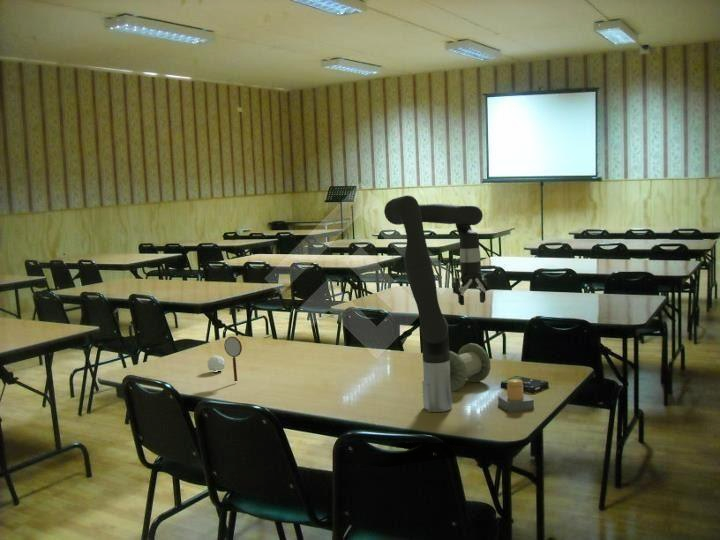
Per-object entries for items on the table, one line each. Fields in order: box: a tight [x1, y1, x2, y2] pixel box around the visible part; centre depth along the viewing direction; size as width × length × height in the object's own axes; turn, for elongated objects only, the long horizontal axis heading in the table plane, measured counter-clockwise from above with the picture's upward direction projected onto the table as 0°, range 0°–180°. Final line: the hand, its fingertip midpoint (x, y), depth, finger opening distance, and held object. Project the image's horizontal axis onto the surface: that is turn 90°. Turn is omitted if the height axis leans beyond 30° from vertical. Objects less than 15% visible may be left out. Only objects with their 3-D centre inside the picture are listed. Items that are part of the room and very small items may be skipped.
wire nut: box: [506, 379, 524, 400], centre depth 257 cm, size 5×5×6 cm
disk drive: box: [500, 375, 550, 394], centre depth 280 cm, size 10×3×15 cm
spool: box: [449, 342, 491, 392], centre depth 287 cm, size 16×15×15 cm
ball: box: [207, 355, 226, 371], centre depth 333 cm, size 8×8×8 cm
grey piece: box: [497, 393, 535, 413], centre depth 257 cm, size 9×9×7 cm
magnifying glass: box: [223, 336, 243, 382], centre depth 311 cm, size 9×2×20 cm, turn 62°
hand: (472, 303), depth 276 cm, fingers open, 8 cm apart
